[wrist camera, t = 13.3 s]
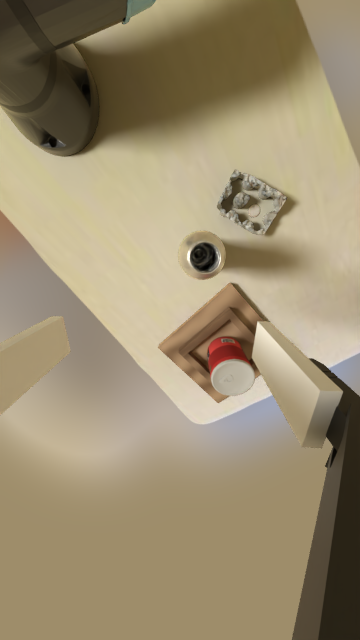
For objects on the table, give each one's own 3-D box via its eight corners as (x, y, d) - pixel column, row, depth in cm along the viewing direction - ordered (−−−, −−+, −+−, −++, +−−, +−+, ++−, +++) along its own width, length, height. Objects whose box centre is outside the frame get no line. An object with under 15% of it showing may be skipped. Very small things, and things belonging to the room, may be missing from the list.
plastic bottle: (203, 276, 42) (215, 297, 23) (176, 260, 41) (165, 268, 22) (220, 248, 40) (247, 246, 21) (191, 230, 39) (193, 213, 20)
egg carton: (280, 203, 37) (291, 197, 33) (256, 240, 40) (263, 239, 36) (234, 170, 36) (239, 160, 32) (211, 210, 38) (214, 206, 34)
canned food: (200, 347, 46) (202, 376, 36) (228, 328, 44) (240, 352, 34) (218, 370, 48) (226, 403, 38) (247, 352, 46) (263, 382, 36)
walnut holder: (158, 344, 48) (156, 351, 45) (229, 282, 42) (233, 285, 39) (217, 399, 53) (219, 409, 49) (288, 350, 47) (295, 357, 44)
